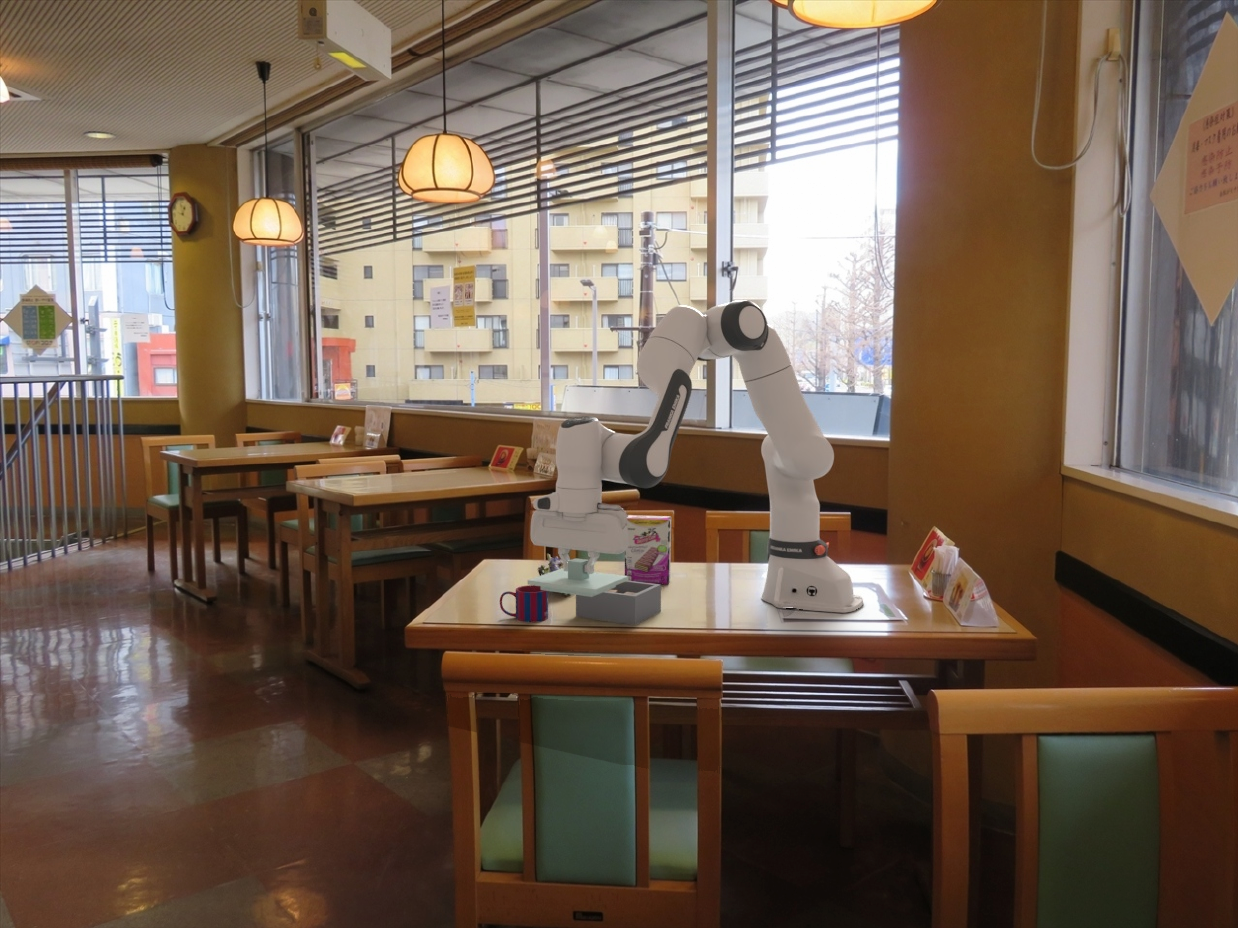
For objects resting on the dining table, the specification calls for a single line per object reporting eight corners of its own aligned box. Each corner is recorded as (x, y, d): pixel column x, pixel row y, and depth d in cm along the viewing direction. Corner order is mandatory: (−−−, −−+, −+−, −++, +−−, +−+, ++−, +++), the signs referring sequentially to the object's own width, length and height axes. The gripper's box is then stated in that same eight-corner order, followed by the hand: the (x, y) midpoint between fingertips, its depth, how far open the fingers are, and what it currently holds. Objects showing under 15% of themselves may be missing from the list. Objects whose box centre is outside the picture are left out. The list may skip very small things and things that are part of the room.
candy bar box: (624, 584, 231) (624, 517, 230) (626, 579, 236) (626, 514, 235) (670, 585, 230) (670, 518, 229) (670, 580, 235) (671, 515, 234)
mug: (546, 625, 195) (546, 592, 194) (498, 624, 195) (497, 592, 194) (549, 616, 201) (549, 585, 201) (502, 616, 201) (502, 585, 201)
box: (660, 614, 203) (660, 584, 202) (635, 627, 192) (635, 596, 192) (603, 606, 210) (603, 577, 209) (575, 619, 199) (575, 588, 198)
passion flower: (570, 620, 219) (570, 586, 211) (525, 609, 221) (524, 574, 213) (584, 584, 227) (585, 550, 219) (541, 574, 229) (540, 540, 221)
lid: (628, 586, 186) (628, 558, 185) (595, 600, 175) (595, 570, 174) (563, 577, 193) (563, 551, 192) (527, 590, 182) (527, 562, 181)
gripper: (634, 503, 180) (633, 574, 181) (543, 495, 190) (543, 563, 191) (618, 507, 175) (618, 581, 176) (526, 499, 184) (526, 569, 186)
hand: (578, 572), depth 184 cm, fingers closed on lid, 3 cm apart
